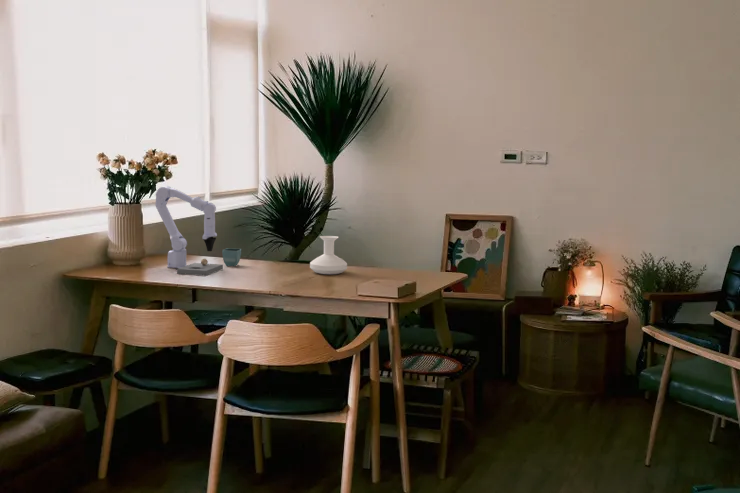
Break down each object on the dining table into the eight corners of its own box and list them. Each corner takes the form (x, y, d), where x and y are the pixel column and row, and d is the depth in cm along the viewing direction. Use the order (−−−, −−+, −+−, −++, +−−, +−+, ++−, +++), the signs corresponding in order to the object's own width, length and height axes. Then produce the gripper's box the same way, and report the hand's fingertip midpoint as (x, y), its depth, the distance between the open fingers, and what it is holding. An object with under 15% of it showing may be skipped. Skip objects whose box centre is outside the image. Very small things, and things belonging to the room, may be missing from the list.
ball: (199, 265, 429) (199, 259, 428) (202, 264, 432) (202, 258, 432) (206, 265, 428) (206, 259, 428) (208, 265, 431) (208, 258, 431)
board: (177, 273, 416) (177, 268, 416) (194, 267, 438) (194, 262, 437) (206, 275, 413) (206, 270, 413) (222, 269, 435) (222, 264, 434)
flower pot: (241, 264, 451) (241, 248, 450) (237, 267, 442) (237, 250, 441) (226, 264, 452) (226, 248, 451) (221, 266, 443) (221, 250, 442)
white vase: (342, 277, 420) (343, 240, 418) (305, 274, 424) (305, 238, 422) (351, 271, 440) (351, 235, 437) (315, 269, 444) (315, 234, 441)
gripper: (211, 227, 426) (211, 253, 428) (221, 224, 440) (221, 249, 442) (198, 227, 428) (198, 252, 430) (209, 224, 442) (209, 249, 444)
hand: (209, 251), depth 436 cm, fingers closed
